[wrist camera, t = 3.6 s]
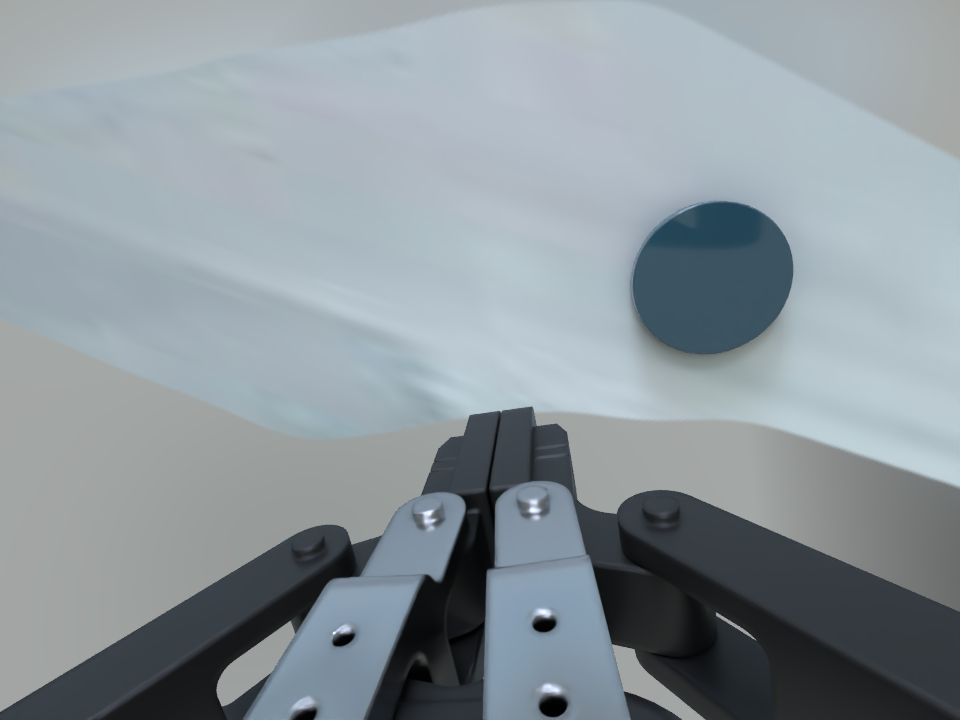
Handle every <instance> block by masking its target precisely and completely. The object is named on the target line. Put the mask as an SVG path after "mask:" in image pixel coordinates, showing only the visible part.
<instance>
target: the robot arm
mask: <svg viewBox="0 0 960 720" xmlns="http://www.w3.org/2000/svg"><path fill="white" fill-rule="evenodd" d="M716 612H717V613H719V614H720V615H722V616H724V617H725V618H727V619H728V620H730V621H732V622H733V623H735V624H737V625H738V626H740V627H741V628H743V629H744V630H746V631H747V632H748V633H749V634H751V635H752V636H753V637H754V638H755V639H756V640H757V641H756V640H754V639H752V638H751V637H749V636H747V635H746V634H744V633H743V632H741V631H740V630H738V629H736V628H735V627H733V626H732V625H730V624H728V623H727V622H725V621H723V620H722V619H720V618H718V617H717V616H716ZM290 620H291V623H292V625H293V628H294V631H295V636H294V638H293V639H292V641H291V642H290V644H289V646H288V647H287V649H286V650H285V652H284V654H283V655H282V657H281V659H280V660H279V662H278V663H277V665H276V667H275V668H274V670H273V671H272V673H271V674H269V675H268V676H267V677H265V678H264V679H263V680H261V681H260V682H259V683H257V684H256V685H255V686H253V687H252V688H251V689H249V690H248V691H247V692H246V693H244V694H243V695H242V696H240V697H239V698H238V699H236V700H235V701H234V702H232V703H230V704H229V705H226V706H223V707H222V706H221V704H220V702H219V699H218V697H217V692H216V689H217V683H218V680H219V678H220V676H221V674H222V673H223V671H224V670H225V669H226V667H227V666H228V665H229V664H230V663H232V662H233V661H234V660H236V659H237V658H238V657H240V656H241V655H242V654H244V653H245V652H247V651H248V650H250V649H251V648H252V647H254V646H255V645H257V644H258V643H259V642H261V641H262V640H264V639H265V638H267V637H268V636H269V635H271V634H272V633H273V632H275V631H276V630H278V629H279V628H280V627H282V626H283V625H285V624H286V623H288V622H289V621H290ZM612 644H614V645H618V646H623V647H627V648H632V649H635V653H636V657H637V659H638V661H639V663H640V664H641V666H642V667H643V668H644V669H645V670H646V671H647V672H648V673H649V674H650V675H652V676H653V677H654V678H655V679H656V680H658V681H659V682H660V683H661V684H663V685H664V686H665V687H666V688H668V689H669V690H670V691H671V692H673V693H674V694H675V695H676V696H677V697H679V698H680V699H681V700H682V701H683V702H685V703H686V704H687V705H688V706H690V707H691V708H692V709H693V710H695V711H696V712H697V713H698V714H700V715H701V716H702V717H703V718H704V719H706V720H960V612H959V611H956V610H954V609H952V608H949V607H947V606H945V605H942V604H940V603H938V602H935V601H933V600H930V599H928V598H926V597H924V596H921V595H919V594H917V593H914V592H912V591H910V590H908V589H905V588H903V587H900V586H898V585H896V584H894V583H891V582H889V581H887V580H884V579H882V578H880V577H877V576H875V575H873V574H870V573H868V572H866V571H863V570H861V569H859V568H856V567H854V566H852V565H850V564H847V563H845V562H842V561H840V560H838V559H836V558H833V557H831V556H829V555H826V554H824V553H822V552H819V551H817V550H815V549H812V548H810V547H808V546H805V545H803V544H801V543H799V542H796V541H794V540H792V539H789V538H787V537H785V536H782V535H780V534H778V533H775V532H773V531H771V530H768V529H766V528H764V527H761V526H759V525H757V524H754V523H752V522H750V521H748V520H745V519H743V518H740V517H738V516H736V515H734V514H731V513H729V512H727V511H724V510H722V509H720V508H717V507H715V506H713V505H710V504H708V503H706V502H703V501H701V500H699V499H696V498H694V497H692V496H690V495H687V494H684V493H680V492H675V491H668V490H655V491H647V492H643V493H639V494H637V495H634V496H632V497H630V498H628V499H627V500H625V501H624V502H623V503H622V504H621V505H620V507H619V509H618V512H617V514H612V513H604V512H599V511H595V510H592V509H590V508H588V507H586V506H584V505H582V504H581V503H580V502H579V501H578V500H577V494H576V486H575V480H574V474H573V467H572V461H571V455H570V449H569V442H568V436H567V432H566V431H565V430H564V429H562V428H561V427H560V426H559V425H558V424H550V425H543V426H536V420H535V415H534V410H533V407H525V408H518V409H511V410H503V411H502V413H501V412H500V411H496V412H489V413H482V414H474V415H470V416H469V420H468V423H467V426H466V430H465V433H464V436H459V437H451V438H450V439H449V440H448V441H446V442H445V443H444V444H443V445H442V446H441V447H440V448H439V449H438V452H437V454H436V457H435V460H434V463H433V465H432V468H431V473H429V476H428V478H427V481H426V484H425V486H424V489H423V491H422V494H421V496H419V497H417V498H414V499H412V500H410V501H409V502H407V503H405V504H404V505H402V506H401V507H400V508H399V509H398V510H397V511H396V512H395V514H394V515H393V517H392V519H391V521H390V523H389V524H388V526H387V528H386V530H385V531H384V534H383V535H382V536H379V537H376V538H373V539H369V540H366V541H363V542H360V543H356V544H353V545H351V541H350V538H349V535H348V532H347V531H346V529H344V528H343V527H340V526H337V525H322V526H316V527H313V528H309V529H307V530H304V531H302V532H299V533H297V534H295V535H294V536H292V537H290V538H288V539H287V540H285V541H283V542H282V543H280V544H278V545H277V546H275V547H273V548H272V549H270V550H268V551H267V552H265V553H263V554H262V555H260V556H259V557H257V558H255V559H254V560H252V561H250V562H249V563H247V564H245V565H244V566H242V567H240V568H239V569H237V570H235V571H234V572H232V573H230V574H229V575H227V576H225V577H224V578H222V579H220V580H219V581H217V582H215V583H214V584H212V585H210V586H209V587H207V588H205V589H204V590H202V591H200V592H199V593H197V594H195V595H194V596H192V597H191V598H189V599H187V600H185V601H184V602H182V603H180V604H179V605H177V606H176V607H174V608H172V609H171V610H169V611H167V612H166V613H164V614H162V615H161V616H159V617H158V618H156V619H154V620H152V621H151V622H149V623H147V624H146V625H144V626H142V627H141V628H139V629H137V630H136V631H134V632H132V633H131V634H129V635H127V636H126V637H124V638H122V639H121V640H119V641H117V642H116V643H114V644H112V645H111V646H109V647H107V648H106V649H104V650H103V651H101V652H99V653H97V654H96V655H94V656H92V657H91V658H89V659H88V660H86V661H85V662H83V663H81V664H79V665H78V666H76V667H74V668H73V669H71V670H69V671H68V672H66V673H64V674H63V675H61V676H59V677H58V678H56V679H54V680H53V681H51V682H49V683H48V684H46V685H44V686H43V687H41V688H39V689H38V690H36V691H34V692H33V693H31V694H29V695H28V696H26V697H24V698H23V699H21V700H19V701H18V702H16V703H14V704H13V705H11V706H10V707H8V708H6V709H5V710H3V711H1V712H0V720H682V719H680V718H679V717H678V716H676V715H675V714H673V713H672V712H670V711H668V710H666V709H665V708H663V707H661V706H659V705H657V704H656V703H654V702H651V701H649V700H647V699H644V698H642V697H639V696H637V695H634V694H631V693H628V692H624V691H623V687H622V684H621V679H620V675H619V671H618V667H617V663H616V659H615V655H614V651H613V647H612ZM483 677H484V679H483Z"/></svg>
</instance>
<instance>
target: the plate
mask: <svg viewBox="0 0 960 720" xmlns="http://www.w3.org/2000/svg"><path fill="white" fill-rule="evenodd" d="M792 279H793V260H792V254H791V251H790V247H789V244H788V242H787V240H786V238H785V236H784V234H783V233H782V231H781V230H780V228H779V227H778V226H777V225H776V224H775V223H774V221H773V220H771V219H770V218H769V217H768V216H767V215H765V214H764V213H762V212H760V211H759V210H757V209H755V208H753V207H750V206H748V205H744V204H741V203H737V202H729V201H708V202H701V203H697V204H694V205H690V206H688V207H685V208H683V209H681V210H679V211H677V212H675V213H673V214H672V215H670V216H669V217H667V218H666V219H665V220H663V221H662V222H661V223H660V224H659V225H658V226H657V227H655V228H654V229H653V231H652V232H651V233H650V234H649V235H648V237H647V238H646V240H645V241H644V243H643V244H642V246H641V248H640V250H639V252H638V254H637V256H636V259H635V262H634V265H633V270H632V276H631V292H632V298H633V303H634V305H635V308H636V311H637V313H638V315H639V317H640V319H641V320H642V322H643V323H644V324H645V326H646V327H647V329H648V330H649V331H650V332H651V333H652V334H653V335H654V336H655V337H656V338H658V339H659V340H660V341H662V342H663V343H665V344H667V345H668V346H670V347H673V348H675V349H678V350H681V351H684V352H688V353H695V354H713V353H720V352H724V351H729V350H731V349H734V348H737V347H740V346H742V345H744V344H746V343H748V342H749V341H751V340H753V339H754V338H756V337H757V336H758V335H760V334H761V333H762V332H763V331H765V330H766V329H767V328H768V327H769V326H770V325H771V324H772V322H773V321H774V320H775V319H776V317H777V316H778V315H779V313H780V312H781V310H782V308H783V307H784V305H785V302H786V300H787V298H788V295H789V292H790V289H791V285H792Z"/></svg>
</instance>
